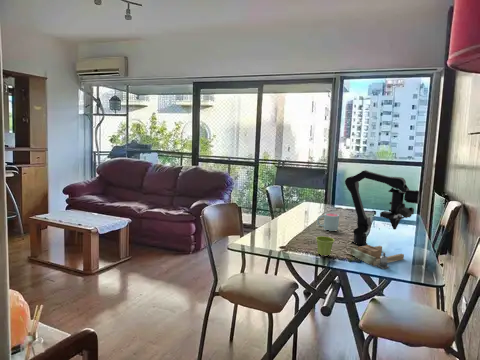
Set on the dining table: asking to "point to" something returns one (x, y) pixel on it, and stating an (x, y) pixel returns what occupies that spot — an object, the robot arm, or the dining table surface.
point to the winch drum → (383, 262)
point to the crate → (370, 251)
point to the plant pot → (324, 245)
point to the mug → (329, 221)
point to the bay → (373, 260)
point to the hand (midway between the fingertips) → (394, 229)
